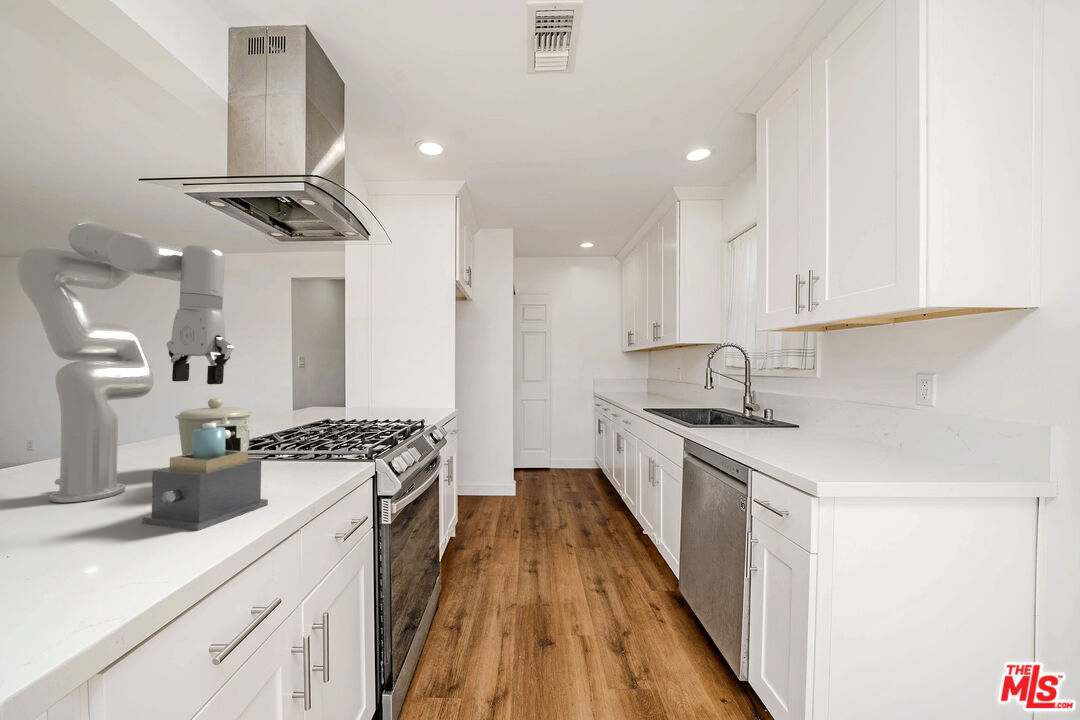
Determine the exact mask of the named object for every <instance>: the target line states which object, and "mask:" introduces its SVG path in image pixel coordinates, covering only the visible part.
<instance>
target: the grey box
mask: <svg viewBox="0 0 1080 720" xmlns="http://www.w3.org/2000/svg"><path fill="white" fill-rule="evenodd" d="M248 455H249V453H248V451H245V452H244V451H231V450H225V456H221V457H216V458H211V459H197V458H192V453H191V454H186V455H182V454H181V455H176V456H172V457H171V456H170V457H169V466H168V467H167V466H166V467H164V468H163V467H162V468H159V469H153V470H152V474H151V475H152V477H151V478H152V479H151V481H152V482H151V483H152V485H151V491H152V492H151V514H147V515H145V516H142V518H141V521H142V522H141V524H145V523H146V525H153V524H154V525H155V526H160V525H161V527H168V526H170V527H169V528H175V529H176V528H177V529H183V530H192V531H200V530H204V529H206V528H208V527H209V528H210V527H211V526H214V525H217V524H220V523H222V522H225V521H228V520H231V519H233V518H237V517H238V516H241V515H244V513H245V514H247V513H250V512H252V511H255V510H258V509H260V508H261V509H262V508H263V507H266V506H268V505H269V504H268V503H269V500H268V499H265V498H261V495H262V494H261V493H262V486H261V485H262V460H261V459H254V458H248ZM154 525H153V526H154Z"/></svg>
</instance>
